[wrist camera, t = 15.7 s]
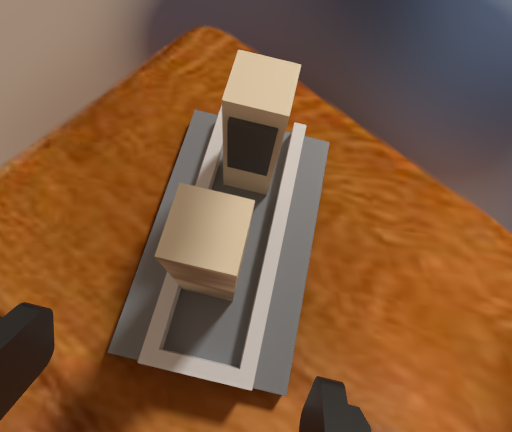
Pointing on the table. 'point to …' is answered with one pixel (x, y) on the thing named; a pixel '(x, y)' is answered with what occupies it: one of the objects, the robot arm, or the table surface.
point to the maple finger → (205, 240)
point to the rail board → (257, 247)
